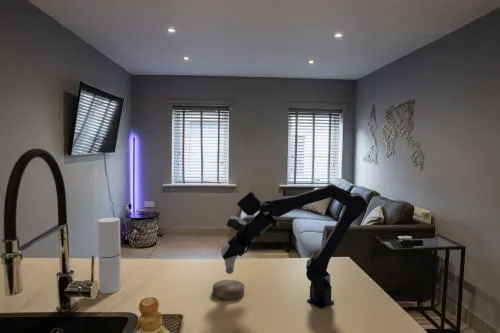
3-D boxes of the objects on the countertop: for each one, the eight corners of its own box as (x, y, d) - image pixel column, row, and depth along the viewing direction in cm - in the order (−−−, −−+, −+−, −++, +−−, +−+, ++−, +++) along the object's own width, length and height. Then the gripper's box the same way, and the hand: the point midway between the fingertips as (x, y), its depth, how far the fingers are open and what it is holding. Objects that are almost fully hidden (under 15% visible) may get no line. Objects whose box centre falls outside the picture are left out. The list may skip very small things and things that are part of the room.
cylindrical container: (113, 294, 120) (112, 222, 118) (95, 292, 122) (93, 221, 120) (124, 285, 127) (123, 218, 125) (107, 283, 129) (105, 216, 127)
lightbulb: (236, 269, 126) (236, 239, 125) (240, 276, 120) (240, 245, 119) (219, 271, 125) (219, 241, 124) (222, 278, 119) (222, 246, 118)
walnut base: (250, 294, 122) (250, 287, 121) (224, 303, 115) (224, 296, 115) (231, 283, 130) (232, 277, 130) (206, 291, 123) (206, 284, 123)
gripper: (247, 203, 129) (218, 231, 132) (234, 214, 111) (201, 246, 114) (268, 225, 128) (238, 253, 131) (258, 240, 110) (224, 271, 113)
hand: (226, 255), depth 122 cm, fingers closed on lightbulb, 6 cm apart
